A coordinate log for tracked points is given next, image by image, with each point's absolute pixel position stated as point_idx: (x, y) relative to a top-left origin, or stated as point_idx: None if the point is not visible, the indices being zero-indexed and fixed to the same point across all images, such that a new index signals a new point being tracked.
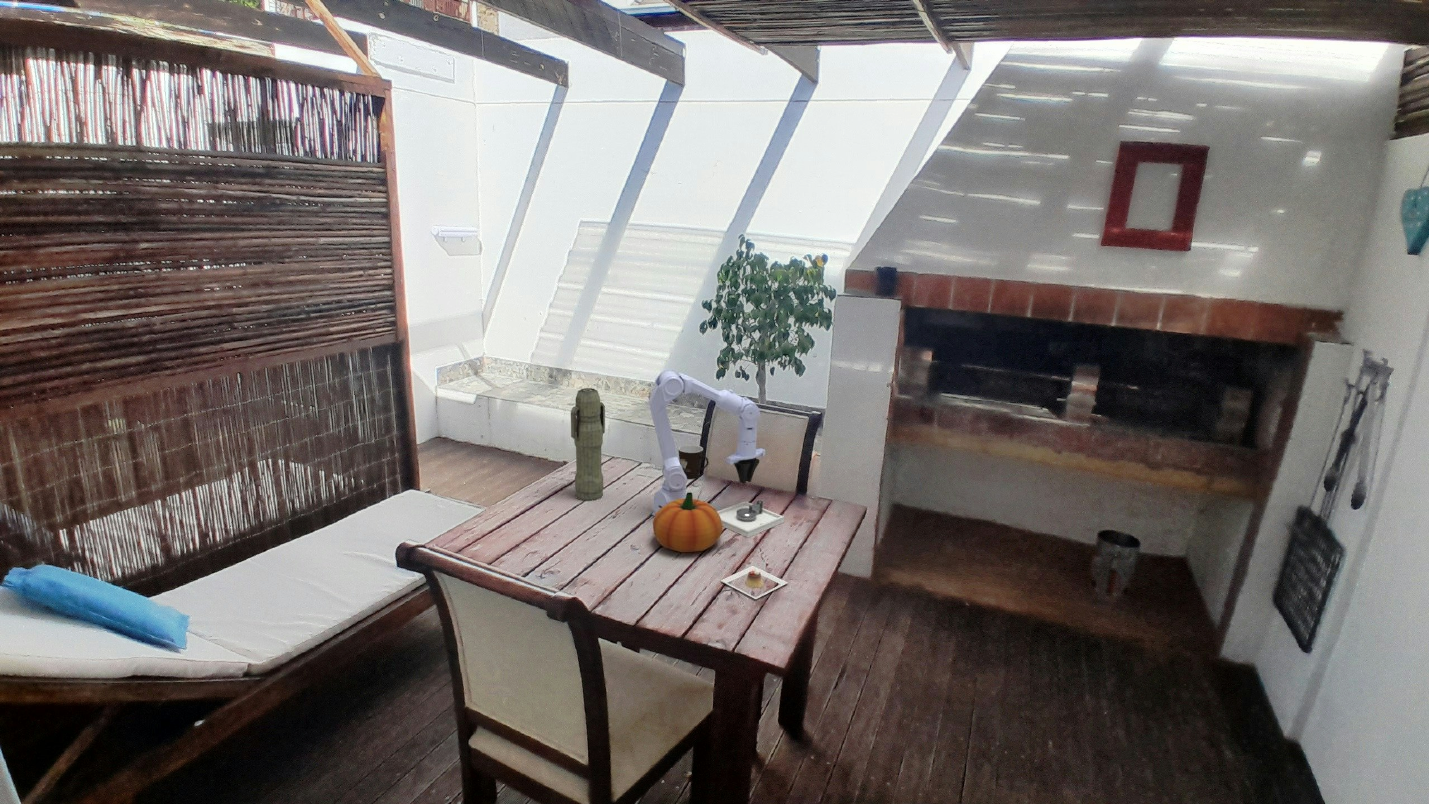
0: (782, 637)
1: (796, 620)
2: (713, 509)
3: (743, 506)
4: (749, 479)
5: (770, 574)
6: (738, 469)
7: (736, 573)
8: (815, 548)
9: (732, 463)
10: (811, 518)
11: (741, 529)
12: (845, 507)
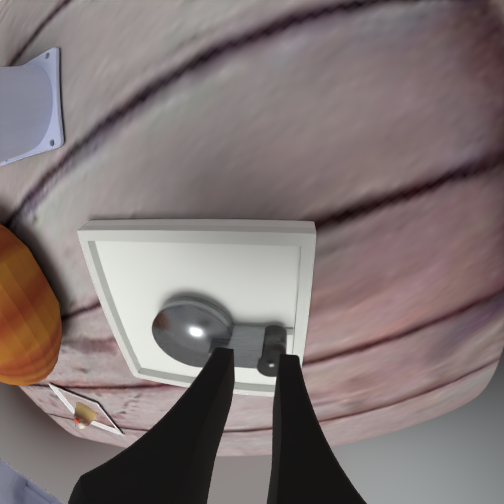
0: (83, 435)
1: (103, 441)
2: (13, 378)
3: (278, 247)
4: (273, 402)
5: (111, 422)
6: (164, 443)
7: (69, 393)
8: (237, 442)
9: (36, 492)
10: (373, 399)
11: (127, 359)
12: (472, 391)
